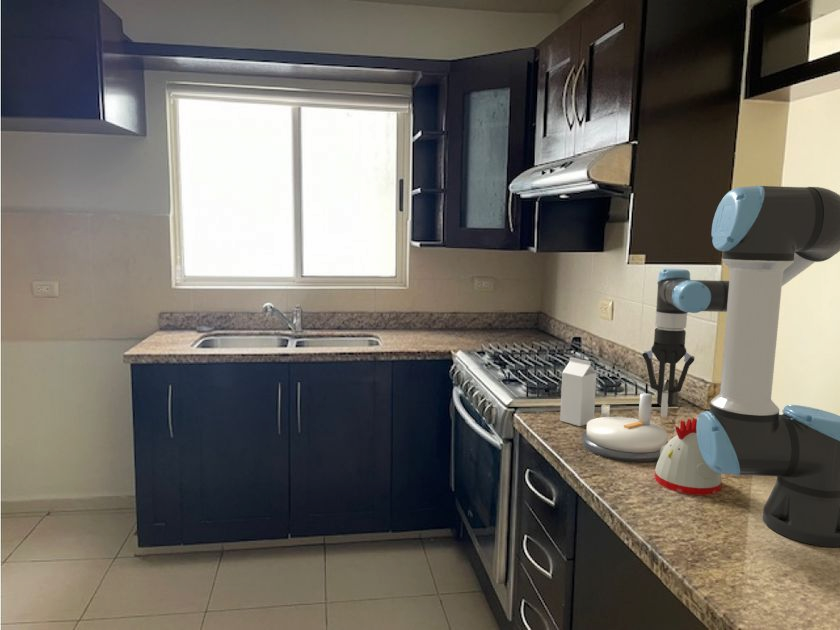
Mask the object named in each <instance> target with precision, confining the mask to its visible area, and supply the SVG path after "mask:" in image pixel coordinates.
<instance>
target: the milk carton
mask: <svg viewBox="0 0 840 630" xmlns="http://www.w3.org/2000/svg"><path fill="white" fill-rule="evenodd" d="M591 364H592V363H591V360H586V359H585V360H584V359H581V358H575V357H569V362H568V363H567V364H566V366H565V368H564V369H563V371H562V372H561V376H562V377H561V391H560V392H561V394H560V397H561V398H560V412H559V415H560V416H559V420H560V421H561V422H563V423H567V424H570V425H574V426H577V427H583V426H585V425H586V426H587V422H588V421H590V420H592V419H595V407H596V405H595V404H596V389H597V388H596V386H597V371H596V370H595V369H594V368H593V366H592V365H591Z"/></svg>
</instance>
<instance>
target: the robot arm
mask: <svg viewBox="0 0 840 630" xmlns="http://www.w3.org/2000/svg"><path fill="white" fill-rule="evenodd" d="M710 235H711V238H712V245H713V247H714V248H715V249H716V250H717V251H720V252H722V255H721V256H722V257H721V260H722V262H724V264H725V265H726V266H727V267H728V269H729V280H707V279H704V280H702V279H701V280H700V279H697V280H696V279H691V273H690V271H689V270H688V269H682V268H663V269H661V270H659V273H658V279H657V293H656V295H657V296H656V307H655V309H656V310H655V323H654V325H655V329H654V334H653V335H654V337H653V344H652V346H651V348H650V349H649V350H647V351H643V353H642V354H641V355H642V358H643V359H644V361H645V363H646V368H647V373H648V379H649V383H650V388H651V389H652V390H655V391H657V392H656V393H657V398H656V399H657V400H656V402H657V404H661V405H660V417H661V418H668V412H669V411H668V410H669V405H670V406H671V405H673V403H674V393H679V392H681V390H682V387H683V385H684V382H685V380H686V377H687V374H688V371H689V369H690V366H691V365H692V364H693V363H694V361H695V359H696V357H695V356H693V355H691V354H689V353H688V351H687V348H686V337H687V336H686V334H687V332H686V330H685V329H686V328H687V321H688V320H687V319H688V313H690V314H697V313H701V312H714V313H715V312H716V313H718V312H720V313H721V312H724V313H726V318H725V328H724V338H723V339H724V341H723V352H722V362H721V363H722V364H721V365H722V366H721V378H720V379H721V381H720V387H719V390H720V391H719V393H718V394H717V395H716V396H714V397H713V398H712V399H710V404H709V405H710V406H709V410H705V411H703V412H700V413H699V415H698V418H696V419H697V425H696V431H697V440H698V445H699V448H700V452H701V454H702V457H703V459H704V461H705V463H706V464H707V466H708V467H709V468H710V469H711V470H713V471H714V472H717V473H721V475H723V474H724V475H733V476H734V477H735V476H737V477H738V476H753V477H754V476H755V477H756V476H758V477H776V482H775V485H774V486H773V489H772V490H771V492H770V494H769V496H768V498H767V500H766V502H765V504H764V506H763V510H762V520H763V523H764V524H765V525H766V526H767V527H768V528H769V529H770V530H772V531H774V532H776V533H778V534H779V535H781V536H784V537H786V538H789V539H791V540H794V541H797V542H800V543H803V544H804V543H805V544H808V545H811V546H818V547H826V548H839V547H840V415H838V414H836V413H832V412H830V411H827V410H823V409H819V408H814V407H809V406H804V405H800V404H799V405H797V404H789V405H785V406H784V407H783V409H782V413H781V414H780V408H779V406H777V404H776V403H775V402H773V400H772V394H773V393H772V391H773V384H774V373H775V372H774V371H775V361H776V359H775V358H776V351H777V340H778V339H777V338H778V328H779V318H780V317H779V316H780V309H781V296H782V287H784V286H785V285H786V284H788V283H789V282H790V281H791V280H793V279H794V278H796V276H798V275H800V274H801V273H803V272H804V271H806V270H807V269H808V268H809V267H811V266H812V265H813V264H815V263H821V262H825V261H828V260H830V259H831V258H832V257H834V256H835V255H837V254H838V253H839V252H840V194H839V193H837V192H836V191H833V190H830V188H829V189H828V188H825V187H820V186H778V185H777V186H775V185H754V186H753V185H751V186H739V187H735V188H733V189H731V190H729V191H728V192H727V193H726V194H725V195H724V196H723V198H722V199H721V201H720V202H719V204H718V206H717V208H716V211H715V213H714V217H713V220H712V224H711V234H710ZM653 356H655V358H656V360H657V361H658V363H659V369H658V382H657V380H656V375H655V370H654V369H655V368H654V365H653V363H654V362H653V360H652V358H653ZM683 357H684V359H683V361H684V362H685V363H684V365H683V368H682V371H681V374H680V377H679V378H678V382H677V384H676V385H675V380H676V378H675V377H676V369H677V367H676V366H677V363H679V362H680V360H682V358H683ZM666 364H669V375H668V390H664V385H665V372H666Z"/></svg>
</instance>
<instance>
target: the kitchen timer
mask: <svg viewBox="0 0 840 630" xmlns="http://www.w3.org/2000/svg"><path fill="white" fill-rule="evenodd" d="M697 419H698V418H695V417H693V418H692V419H690V418H688V419H686V422H685V420H682V419H681V420H680V424H679V425H680V426H677V425H675V431H676V435H675V436H673V437H672V438H671V439H670V440H669V441H668V443H667V444H666V445H663V446H662V447H661V449H660V457H659V460H658V461H657V463H656V466H655V469H654V479H655V481H656V482H657V483H658V484H659V485H660V486H662V487H664V488H666V489H667V490H670V491H674V492H677V493H682V494H685V495H686V494H687V495H692V496H693V495H694V496H709V495H714V494H718V493H719V492H720V491H721V489H722V473H717V472H714V471H713V470H711V469H710V468H709V467H708V466H707V464H706V463H705V461H704V459H703V457H702V454H701V452H700V448H699V445H698V440H697V431H696V425H697Z"/></svg>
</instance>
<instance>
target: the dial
mask: <svg viewBox="0 0 840 630" xmlns="http://www.w3.org/2000/svg"><path fill="white" fill-rule="evenodd" d="M652 399H653V394H651V393H644V392H643V393H640V394H639V403H638V404H639V405H638V418H632V417H625V416H609V417H601V416H600V417H596V418H595V417H594V419H592V420H590V421H588V422H587V424H586V430H585V431H586V437H587V438H588V440H590V441H591V442H592V443H594V444H596V445H599V446H601V447H604V448H608V449H612V450H617V451H623V452H632V453H648V452H655V451H659V450H660V449H661V447H662V446H663V445H666V440H667V437H668V432H667V430H666V429H665V428H664V427H662V426H660V425H658V424H656V423H653V422H651V415H652V401H653V400H652ZM667 441H668V440H667Z"/></svg>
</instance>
